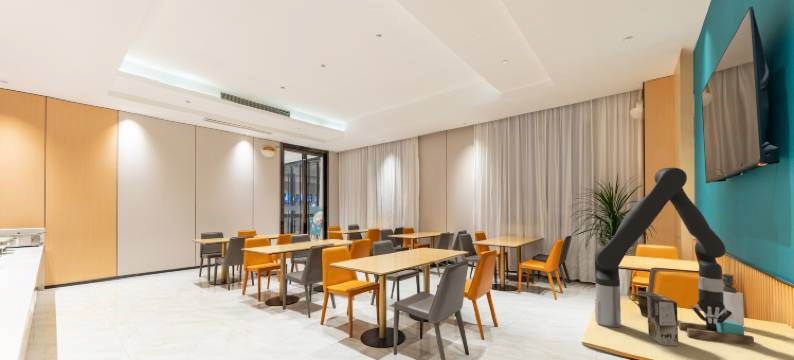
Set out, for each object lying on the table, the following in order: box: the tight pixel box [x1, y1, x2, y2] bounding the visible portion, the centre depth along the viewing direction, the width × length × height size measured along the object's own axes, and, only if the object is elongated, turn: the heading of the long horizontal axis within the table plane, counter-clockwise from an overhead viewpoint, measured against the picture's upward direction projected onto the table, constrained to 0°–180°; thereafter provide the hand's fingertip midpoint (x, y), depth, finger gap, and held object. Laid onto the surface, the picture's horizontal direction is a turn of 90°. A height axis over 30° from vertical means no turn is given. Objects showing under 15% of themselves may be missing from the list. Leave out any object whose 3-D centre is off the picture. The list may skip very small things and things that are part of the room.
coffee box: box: [647, 295, 679, 347], centre depth 135 cm, size 9×6×16 cm
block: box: [717, 321, 745, 335], centre depth 138 cm, size 6×6×6 cm
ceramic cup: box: [628, 291, 662, 318], centre depth 165 cm, size 13×10×10 cm
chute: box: [678, 321, 755, 346], centre depth 140 cm, size 20×10×3 cm, turn 69°
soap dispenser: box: [718, 273, 745, 327], centre depth 153 cm, size 6×9×22 cm
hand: (711, 332), depth 140 cm, fingers closed
